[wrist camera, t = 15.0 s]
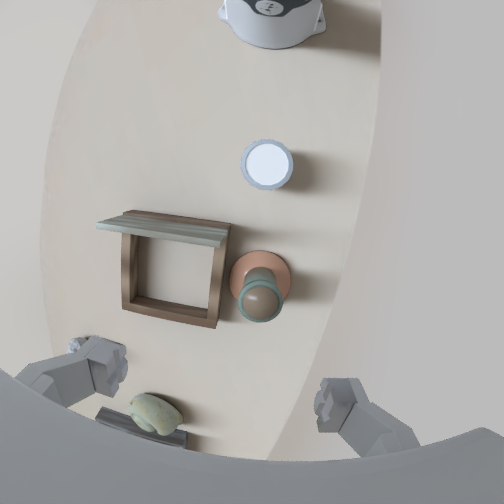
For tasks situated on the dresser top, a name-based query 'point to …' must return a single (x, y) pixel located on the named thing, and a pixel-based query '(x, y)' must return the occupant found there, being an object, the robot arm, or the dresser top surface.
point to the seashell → (154, 414)
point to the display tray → (130, 426)
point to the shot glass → (266, 164)
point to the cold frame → (173, 230)
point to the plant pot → (260, 295)
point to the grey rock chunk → (75, 344)
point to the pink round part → (259, 260)
